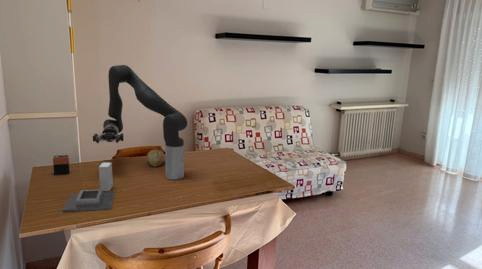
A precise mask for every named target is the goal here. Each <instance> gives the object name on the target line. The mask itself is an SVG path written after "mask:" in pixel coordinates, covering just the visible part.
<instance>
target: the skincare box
mask: <svg viewBox="0 0 482 269" xmlns="http://www.w3.org/2000/svg"><path fill="white" fill-rule="evenodd" d="M98 174H99V176H98V177H99V189H102V190H103V192H111V189H112V188H113V186H114V185H113V184H114V183H113V164H112V162H102V163H101V164H100V165H99V166H98Z"/></svg>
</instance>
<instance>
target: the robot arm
mask: <svg viewBox="0 0 482 269" xmlns="http://www.w3.org/2000/svg"><path fill="white" fill-rule="evenodd" d="M108 69H109V70H108V75H107V76H108V92H109V93H108V94H109V101H108V102H109V103H108V111H107V115H108V117H110V118H111V119H110V118H108V119H105V120H104V121H103V125H102V127H103V130H102V133H101V134H98V133H94V134H93V135H92V142H95V143H97V144H99V143H100V142H106V143H112V142H115V143H116V144H118V143H119V142H124V141H125V140H124V133H121V132H122V131H123V130H124V125H123V118H122V114H123V100H122V97H121V96H120V91H119V86H120V84H121V83H126V84H128V85H129V86H130V87H131V88H132V89H133V90H134V95H135V97H136V99H137V101H138V102H140V103H141V105H143V106H144V107H145V108H146V109H148V110H149V111H152V112H154V113H156V114H159V115H160V116H162V117H163V121H162V131H163V140H164V143H165V144H164V146H165V148H164V150H165V152H164V153H165V154H164V161H165V164H164V166H165V171H164V173H165V178H166V179H168V180H180V179H184V178H185V159H184V154H185V153H184V152H185V148H184V146H185V145H184V144H185V143H184V142H185V141H184V139H183V138H182V137H180V135H179V134H180V133H179V132H180V131H183V130H185V129H186V128H187V127H188V119H187V118H186V116H185V115H184V114H183V113H181V112H180V111H179V110H178V109H176V108H174V106H172V105H171V104H169V103H168V102H167V101H166V100H165V99H164V98H162V96H160V95H159V94H158V93H157V92H156V91H155V90H154V89H152V88H151V86H149V85H148V84H146V82H145V81H143V80H142V79H141V78H140V77H139V76H138V74H136V73H135V71H134V70H133V69H132V68H131V67H130V66H128V65H127V64H121V65H120V64H118V65H113V66H111V67H109V68H108ZM119 133H120V134H119Z"/></svg>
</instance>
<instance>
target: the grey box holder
mask: <svg viewBox="0 0 482 269" xmlns="http://www.w3.org/2000/svg"><path fill="white" fill-rule="evenodd" d="M114 197H115V191H103V190H102V189H100V188H97V189H80V191H79V193H78V192H77V193H70V194H69V197H68V198H67V199H66V202H65V204H64V206H63V207H62V209H61V212H62V213H74V212H76V213H77V212H88V211H89V212H90V211H103V210H111V209H112V205H113V201H114Z"/></svg>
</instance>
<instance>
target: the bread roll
mask: <svg viewBox="0 0 482 269" xmlns="http://www.w3.org/2000/svg"><path fill="white" fill-rule="evenodd" d="M164 153H165V152H163V151H162V149H151V150H150V151H149V152H147V156H146V160H147V162H148V163H149V165H150V166H151V167H155V168H157V167H160V166H161V165H162V164H163V162H164V161H165V154H164Z"/></svg>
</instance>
